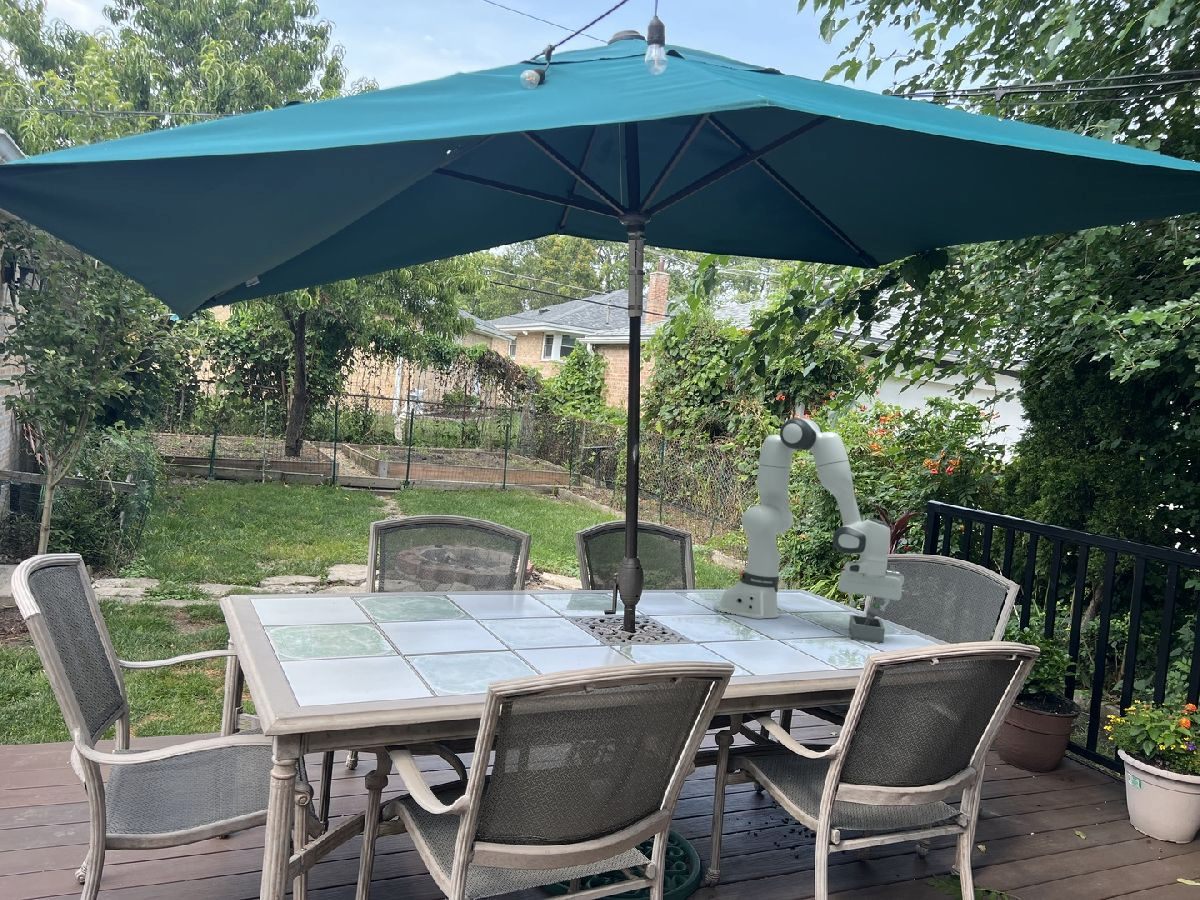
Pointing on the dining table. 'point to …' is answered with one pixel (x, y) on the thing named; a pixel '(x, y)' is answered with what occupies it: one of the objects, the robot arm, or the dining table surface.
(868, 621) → the mechanical component
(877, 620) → the bin
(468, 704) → the dining table surface
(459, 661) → the dining table surface
